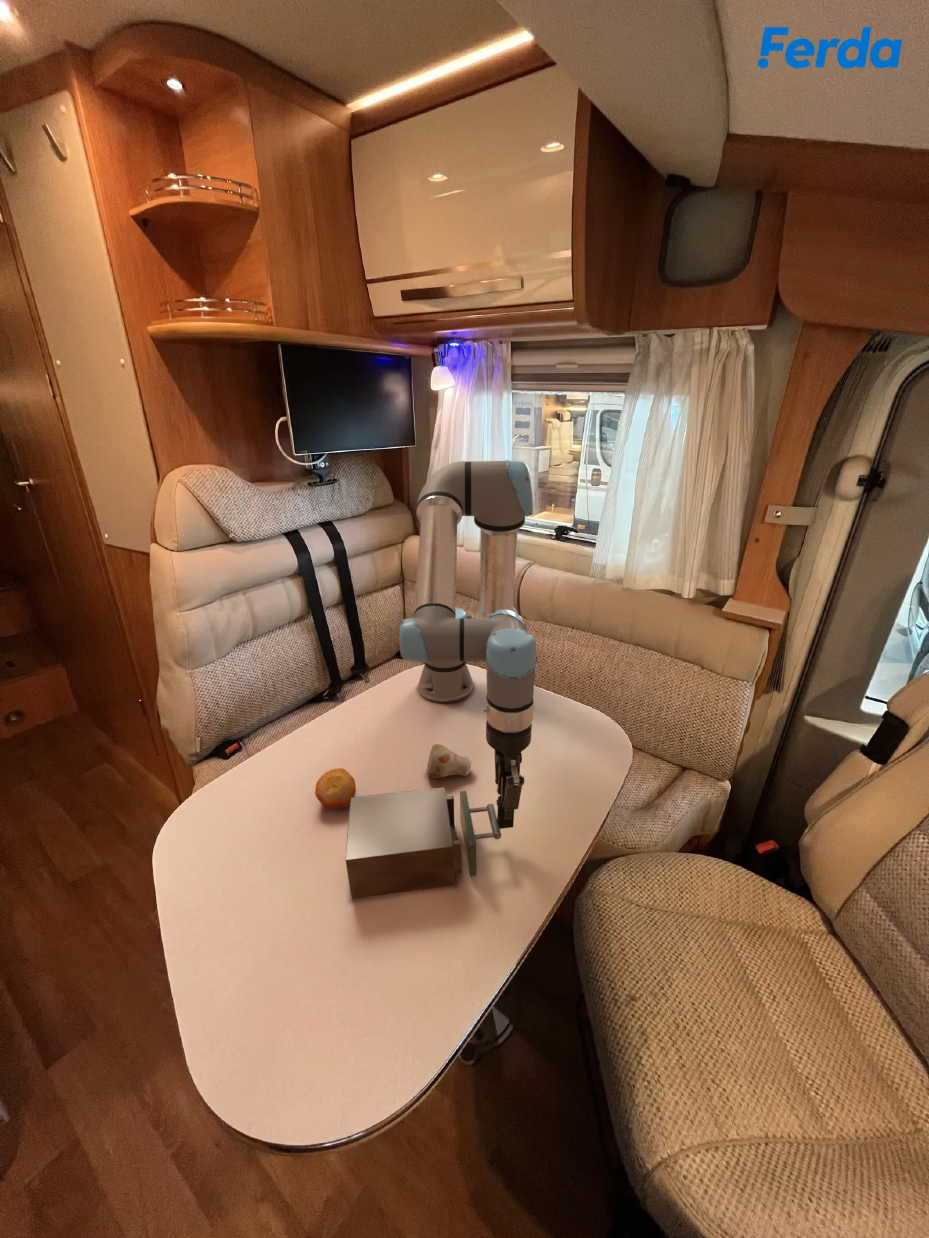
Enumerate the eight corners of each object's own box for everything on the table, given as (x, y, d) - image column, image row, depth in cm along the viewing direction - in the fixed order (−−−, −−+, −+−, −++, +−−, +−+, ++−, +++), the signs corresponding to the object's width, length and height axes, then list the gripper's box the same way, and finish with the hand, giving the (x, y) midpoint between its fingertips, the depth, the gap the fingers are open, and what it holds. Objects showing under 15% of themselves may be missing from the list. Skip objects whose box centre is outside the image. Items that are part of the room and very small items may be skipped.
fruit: (357, 773, 110) (353, 762, 103) (358, 810, 105) (354, 801, 99) (319, 778, 108) (313, 767, 102) (319, 816, 104) (312, 806, 98)
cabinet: (446, 823, 99) (444, 786, 95) (454, 885, 87) (453, 846, 83) (356, 834, 97) (350, 797, 93) (351, 899, 85) (345, 860, 80)
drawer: (490, 817, 99) (491, 787, 96) (503, 872, 88) (505, 840, 85) (382, 830, 96) (378, 800, 93) (381, 888, 85) (377, 856, 82)
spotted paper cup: (475, 784, 109) (452, 759, 103) (437, 793, 112) (413, 770, 107) (477, 755, 114) (455, 730, 109) (440, 764, 118) (418, 741, 112)
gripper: (479, 700, 87) (479, 800, 97) (494, 749, 75) (492, 857, 86) (521, 696, 88) (516, 796, 98) (542, 744, 76) (534, 852, 86)
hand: (505, 824), depth 92 cm, fingers closed
